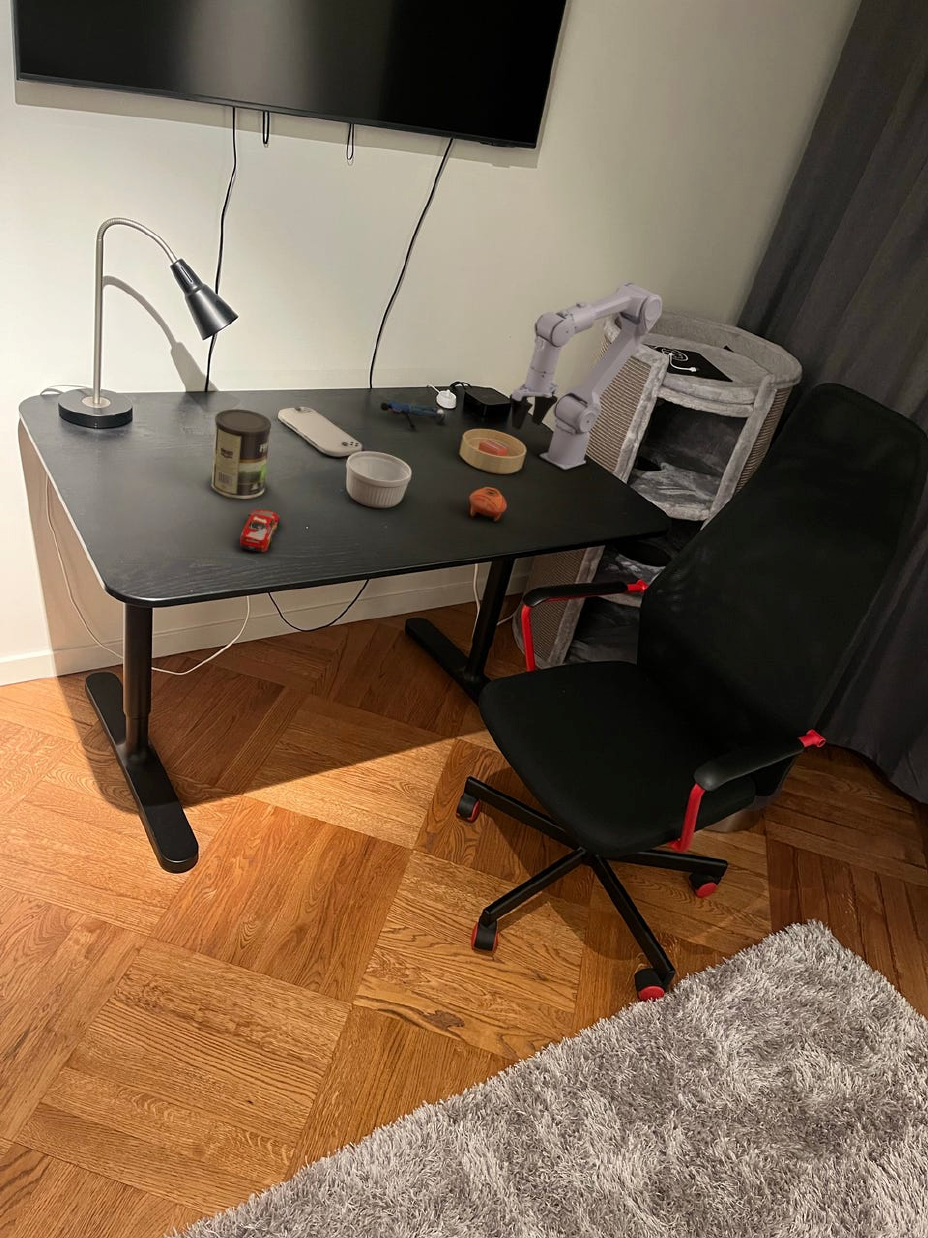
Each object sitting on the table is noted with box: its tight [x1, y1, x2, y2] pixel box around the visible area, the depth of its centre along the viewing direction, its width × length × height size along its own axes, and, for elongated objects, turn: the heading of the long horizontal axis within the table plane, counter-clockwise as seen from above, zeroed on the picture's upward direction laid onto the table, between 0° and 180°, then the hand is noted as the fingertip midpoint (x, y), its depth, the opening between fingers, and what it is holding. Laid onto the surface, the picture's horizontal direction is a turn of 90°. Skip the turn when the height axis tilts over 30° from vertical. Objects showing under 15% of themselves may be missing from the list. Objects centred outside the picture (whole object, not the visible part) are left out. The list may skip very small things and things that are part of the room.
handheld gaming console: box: [277, 406, 364, 459], centre depth 205 cm, size 23×3×10 cm
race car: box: [239, 509, 280, 552], centre depth 165 cm, size 13×5×4 cm, turn 177°
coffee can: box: [210, 408, 272, 500], centre depth 175 cm, size 10×10×14 cm
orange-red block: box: [478, 439, 508, 457], centre depth 214 cm, size 4×6×4 cm
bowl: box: [459, 428, 527, 475], centre depth 214 cm, size 15×15×4 cm
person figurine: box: [379, 400, 446, 431], centre depth 224 cm, size 11×4×18 cm
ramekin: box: [345, 450, 412, 509], centre depth 186 cm, size 13×13×7 cm
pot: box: [469, 486, 508, 522], centre depth 190 cm, size 8×8×7 cm
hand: (526, 425), depth 210 cm, fingers open, 7 cm apart
